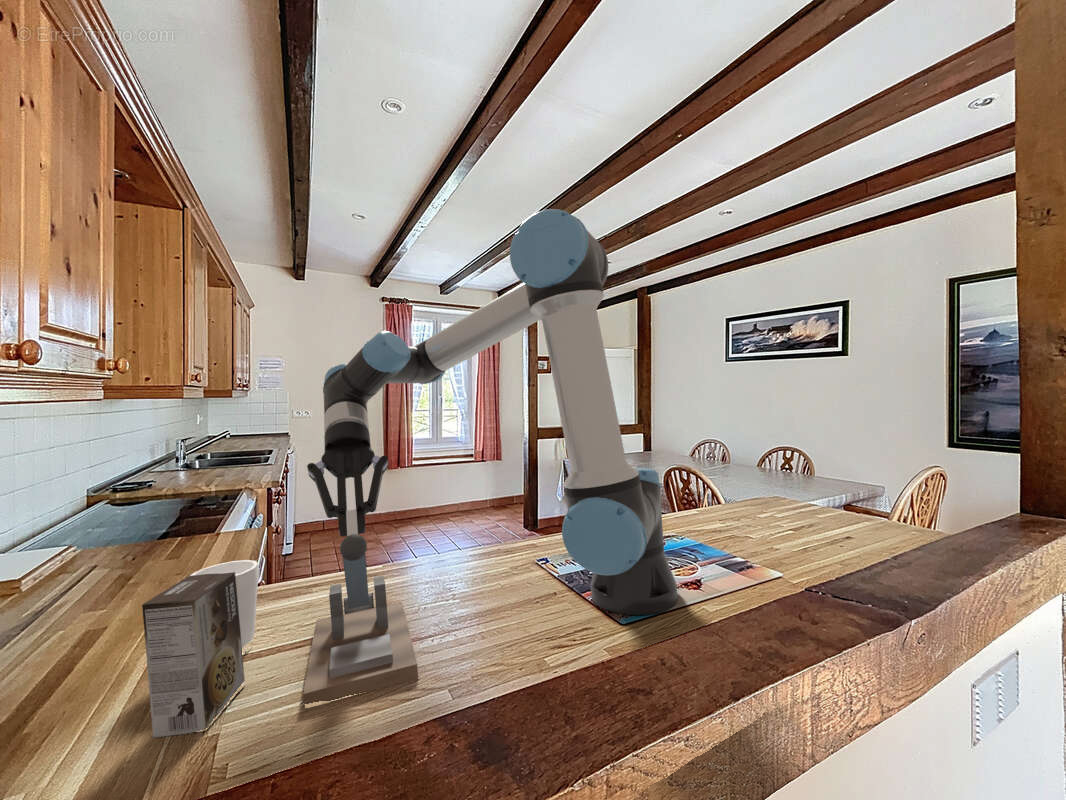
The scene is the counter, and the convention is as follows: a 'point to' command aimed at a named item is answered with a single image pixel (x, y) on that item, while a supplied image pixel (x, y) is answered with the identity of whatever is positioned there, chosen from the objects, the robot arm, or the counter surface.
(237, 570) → the foam cup
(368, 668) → the press base
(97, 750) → the counter surface
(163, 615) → the coffee box
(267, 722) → the counter surface
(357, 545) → the lever
